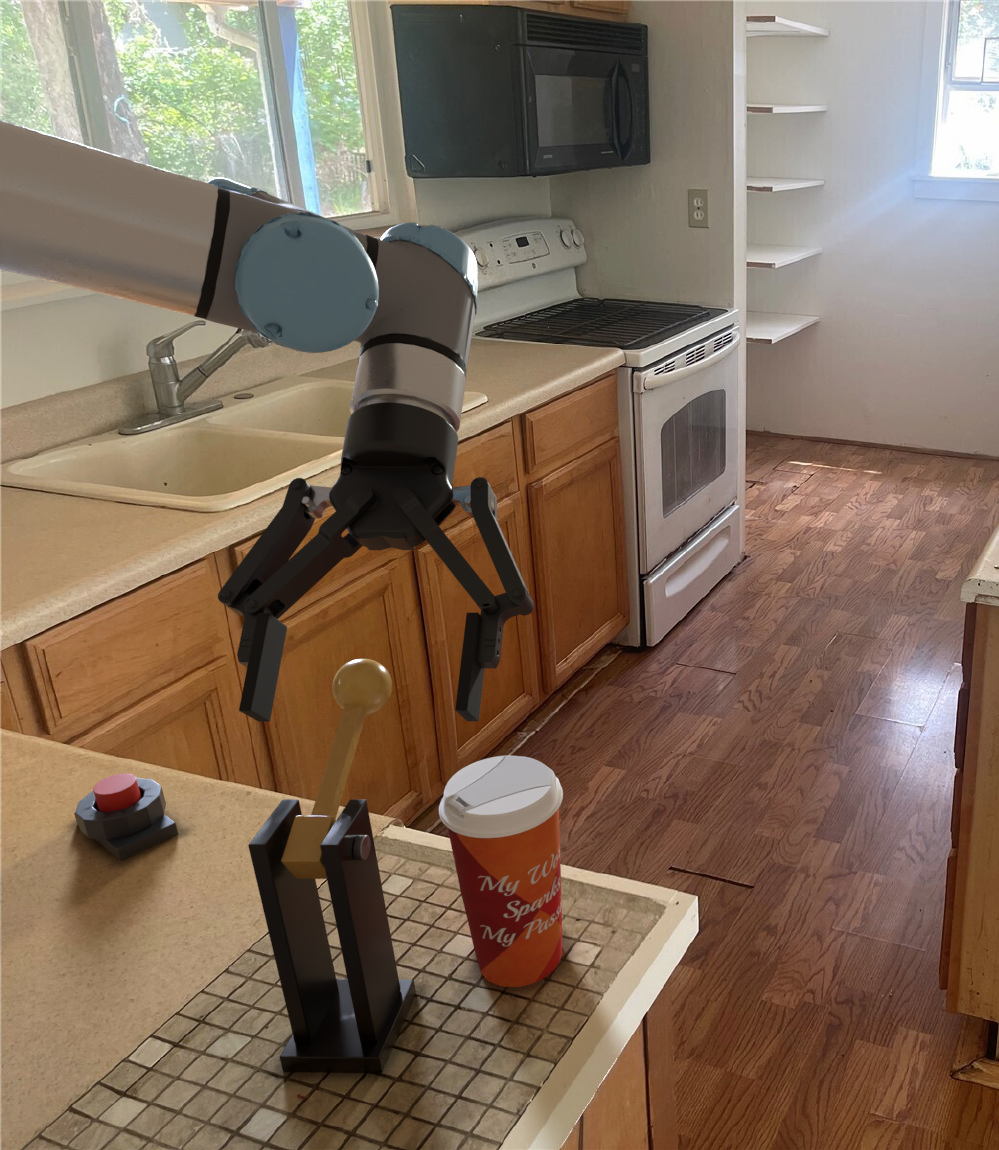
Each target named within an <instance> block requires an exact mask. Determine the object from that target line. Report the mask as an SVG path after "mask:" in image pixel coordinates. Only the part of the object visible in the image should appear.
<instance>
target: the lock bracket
mask: <svg viewBox="0 0 999 1150" xmlns="http://www.w3.org/2000/svg"><path fill="white" fill-rule="evenodd" d="M295 816H303V814H302V809H301V804H300V799H298V798H297V799H296V798H295V799H293V798H291V799H289V798H288V799H286V798H284V799H283V798H282V799H281V801H280V802H279V803H278V805H277V806H276V807H275V809H274V810H273V811H272V813H271V814H270V815H269V817H268V818H267V819H266V821H265V822H264V823H263V824H262V826H261V827H260V828H259V830H258V831H257V832H256V834H255V835H254V836H253V838H251V841H249V843H248V847H247V848H248V850H249V854H250V859H251V864H252V868H253V871H254V876H255V880H256V884H257V887H258V888H257V889H258V892H259V897H260V901H261V906H262V910H263V914H264V918H265V923H266V927H267V930H268V931H267V932H268V935H269V940H270V944H271V948H272V952H273V956H274V960H275V964H276V970H277V974H278V979H279V982H280V986H281V990H282V994H283V1000H284V1003H285V1007H286V1013H287V1015H288V1020H289V1025H290V1029H291V1033H292V1034H291V1036H290V1037H289V1039H288V1041H287V1043H286V1045H285V1047H284V1048H283V1050H282V1052H281V1054H280V1056H279V1062H280V1064H281V1065H280V1066H281V1069H282V1072H283V1073H302V1074H303V1073H311V1074H312V1073H316V1074H317V1073H318V1074H319V1073H320V1074H322V1073H323V1074H324V1073H327V1074H382V1073H384V1070H385V1068H386V1066H387V1063H388V1061H389V1058H390V1056H391V1054H392V1052H393V1049H394V1047H395V1045H396V1043H397V1041H398V1037H399V1035H400V1033H401V1031H402V1028H403V1026H404V1024H405V1022H406V1019H407V1017H408V1015H409V1012H410V1010H411V1007H412V1005H413V1003H414V1000H415V998H416V996H417V991H416V985H415V980H414V979H400V978H399V974H398V973H399V972H398V967H397V962H396V957H395V950H394V945H393V939H392V935H391V929H390V922H389V918H388V917H389V916H388V913H387V907H386V901H385V900H386V899H385V896H384V891H383V885H382V884H383V883H382V879H381V874H380V868H379V862H378V856H377V852H376V851H377V850H376V845H375V841H374V834H373V829H372V824H371V818H370V813H369V808H368V801H367V799H352V798H351V799H349V800H348V802H347V803H346V805H345V806H344V808H343V810H342V811H341V812H340V814H339V815H338V817H337V818H336V819H335V820H336V822H335V823H334V825H333V826H332V828H331V829H330V831H329V832H328V834H327V836H326V837H325V839H324V840H323V842H322V843H321V845H320V847H321V852H322V857H323V862H324V867H325V872H326V877H327V879H326V881H327V886H328V891H329V895H330V901H331V906H332V910H333V916H334V920H335V925H336V930H337V935H338V940H339V945H340V950H341V955H342V960H343V965H344V969H345V974H346V978H337V976H336V971H335V967H334V961H333V955H332V951H331V948H330V947H331V946H330V942H329V938H328V932H327V929H326V923H325V919H324V913H323V909H322V904H321V899H320V895H319V890H318V885H317V881H316V880H317V879H296V878H295V877H294V876H293V875H292V873H291V872H290V871H289V870H288V869H287V868H286V866H285V865H284V864H283V863H282V862H281V860H282V857H283V853H284V850H285V847H286V844H287V841H288V838H289V835H290V831H291V828H292V825H293V822H294V819H295Z"/></svg>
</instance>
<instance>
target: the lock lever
mask: <svg viewBox="0 0 999 1150" xmlns="http://www.w3.org/2000/svg"><path fill="white" fill-rule="evenodd" d="M331 689H332V690H331V692H332V696H333V699H334V701H335V703H336V704H337V705H338V707H340V708H341V709H342V712H341V713H342V714H341V717H340V720H339V723H338V725H337V726H338V727H337V730H336V733H335V736H334V739H333V743H332V746H331V749H330V752H329V756H328V758H327V763H326V766H325V768H324V773H323V776H322V779H321V782H320V785H319V788H318V792H317V795H316V798H315V801H314V805H313V808H312V810H311V814H310V815H302V816H295V819H294V822H293V825H292V828H291V831H290V835H289V838H288V841H287V844H286V847H285V850H284V853H283V857H282V860H281V862H282V863H283V864H284V865H285V866H286V868H287V869H288V870H289V871H290V872H291V873H292V875H293V876H294V877H295V878H296V879H315V880H327V877H326V872H325V867H324V862H323V857H322V852H321V847H320V845H321V843H322V842H323V840H324V839H325V837H326V836H327V834H328V832H329V831H330V829H331V828H332V826H333V825H334V823H335V822H336V820H337V815H338V813H339V810H340V809H339V808H340V806H341V802H342V799H343V795H344V792H345V788H346V785H347V782H348V779H349V774H350V771H351V768H352V766H353V765H352V764H353V762H354V758H355V754H356V750H357V747H358V743H359V740H360V737H361V733H362V730H363V726H364V724H365V720H366V716H367V715H368V716H369V715H372V714H374V713H376V712H378V711H380V710H381V709H383V707H385V705H387V703H388V701H389V700H390V698H391V695H392V692H393V680H392V676H391V674H390V672H389V670H388V669H387V668H386V666H384V665H383V664H381V663H380V662H379V661H377V660H373V659H371V658H356V659H352V660H350V661H347V662H346V663H345V664H343V665H342V666H341V667H340V668H339V669H338V670H337V672H336V673H335V675H334V677H333V680H332V685H331Z"/></svg>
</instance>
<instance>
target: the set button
mask: <svg viewBox="0 0 999 1150" xmlns="http://www.w3.org/2000/svg"><path fill="white" fill-rule="evenodd" d="M136 778H137V777H136V775H134V774H132V773H116V774H113V775H112V774H111V775H109V776H106V777H104V778H102V779H101V780H99V781H98V782H96V783H95V784H94V785H93V788H92V791H93V792H94V796H95V799H96V802H97V806H98V809H99V810H100V811H101V812H113V811H117V810H122V809H125V808H128V807H130V806H132V805H134V804H136V803H137V802H138V801H139V800H140V799H141V794H140V790H139V787H138V783H137V780H136Z"/></svg>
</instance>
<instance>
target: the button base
mask: <svg viewBox="0 0 999 1150" xmlns="http://www.w3.org/2000/svg"><path fill="white" fill-rule="evenodd" d="M136 780H137V783H138V787H139V790H140V794H141V799H140V800H139V801H138V802H137V803H136V804H134V805H132V806H130V807H128V808H125V809H122V810H117V811H113V812H101V811H100V810H99V809H98V806H97V802H96V799H95V796H94V792H93V790H91V791H90V792H89V793H88V794H87V795H85V796H84V797H83V798H81V799H80V800H79V801H78V803H77V806H76V809H75V811H74V813H73V815H74V818H75V821H76V824H77V826H78V827H79V830H80V832H81V833H82V834H83V835H84V836H86V838H88V839H89V840H95V841H96V842H98V843H99V844H100V845H101V846H102V847H104V848H105V849H106V850H107V851H108V852H109V853H110V854H112V855H113V856H114V857H115V858H116V859H118V860H119V861H120V862H123V861H125V860H127V859H129V858H132V857H133V856H136V855H138V854H140V853H142V852H144V851H146V850H148V849H150V848H152V847H155V846H157V845H159V844H161V843H163V842H165V841H167V840H169V839H171V838H173V837H175V836H177V835H179V831H178V826H177V823H176V822H175V821H174V820H172V819H171V818H170V817H169V816H167V815H166V814H165V812H166V806H167V802H166V799H165V795H164V790H163V787H162V785H161V784H160V783H158V782H156V781H155V780H154V779H152V778H143V777H141V778H140V777H136Z"/></svg>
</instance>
